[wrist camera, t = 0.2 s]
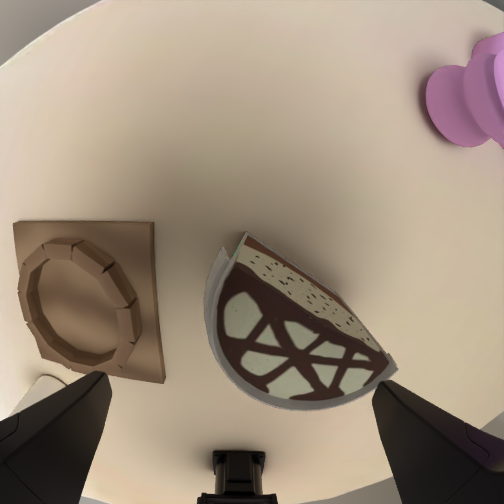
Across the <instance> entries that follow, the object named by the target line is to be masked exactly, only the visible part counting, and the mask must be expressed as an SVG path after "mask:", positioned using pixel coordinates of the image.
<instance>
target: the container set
mask: <svg viewBox="0 0 504 504" xmlns="http://www.w3.org/2000/svg"><path fill="white" fill-rule="evenodd" d="M426 105H427V110H428V113H429V116H430V118H431V120H432V121H433V123H434V124H435V126H436V127H437V129H438V130H439V131H440V132H441V133H442V134H443V135H444V136H445V137H446V138H447V139H448V140H449V141H451V142H453V143H454V144H457V145H460V146H463V147H475V146H478V145H481V144H483V143H485V142H486V141H487V140H489V139H490V138H492V139H493V140H494V141H496V142H498V143H499V144H500V145H501V146H502V147H503V149H504V32H502V33H499V34H497V35H494V36H492V37H489V38H486V39H484V40H481V41H479V42H478V43H477V44H476V45H475V46H474V49H473V51H472V58H471V60H470V61H469V62H468V64H467V66H466V67H462V66H457V65H450V66H444V67H442V68H439V69H437V70H436V71H435V72H434V73H433V74H432V75H431V77H430V78H429V80H428V83H427V87H426Z"/></svg>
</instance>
